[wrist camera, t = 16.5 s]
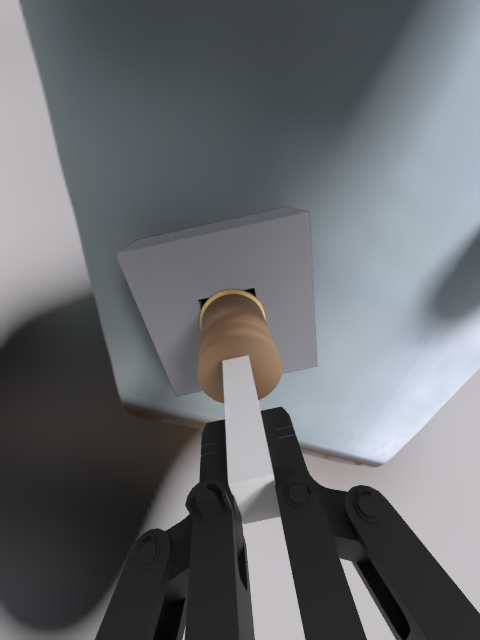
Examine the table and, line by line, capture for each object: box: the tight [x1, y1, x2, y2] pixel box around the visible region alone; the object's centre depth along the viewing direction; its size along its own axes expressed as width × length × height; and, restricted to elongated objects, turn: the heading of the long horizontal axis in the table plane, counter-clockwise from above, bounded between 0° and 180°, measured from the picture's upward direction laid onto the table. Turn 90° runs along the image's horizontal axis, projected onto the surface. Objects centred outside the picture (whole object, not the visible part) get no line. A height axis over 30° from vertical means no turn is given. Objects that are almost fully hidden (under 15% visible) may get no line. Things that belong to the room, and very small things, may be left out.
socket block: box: [115, 207, 318, 396], centre depth 23 cm, size 14×14×6 cm
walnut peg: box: [197, 289, 282, 403], centre depth 20 cm, size 5×5×13 cm
